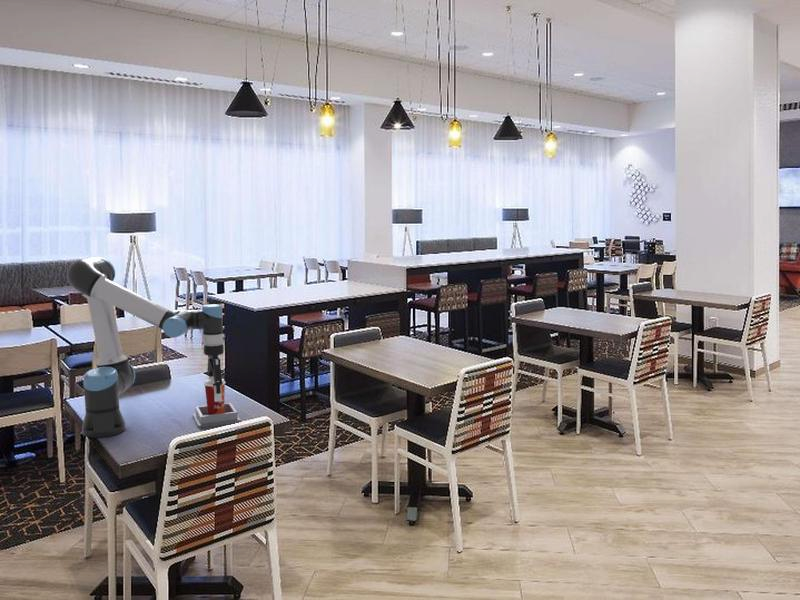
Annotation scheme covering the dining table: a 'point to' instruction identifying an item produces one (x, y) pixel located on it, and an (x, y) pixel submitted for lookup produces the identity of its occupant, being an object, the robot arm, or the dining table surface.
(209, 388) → the coffee cup
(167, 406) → the dining table surface
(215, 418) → the tray
